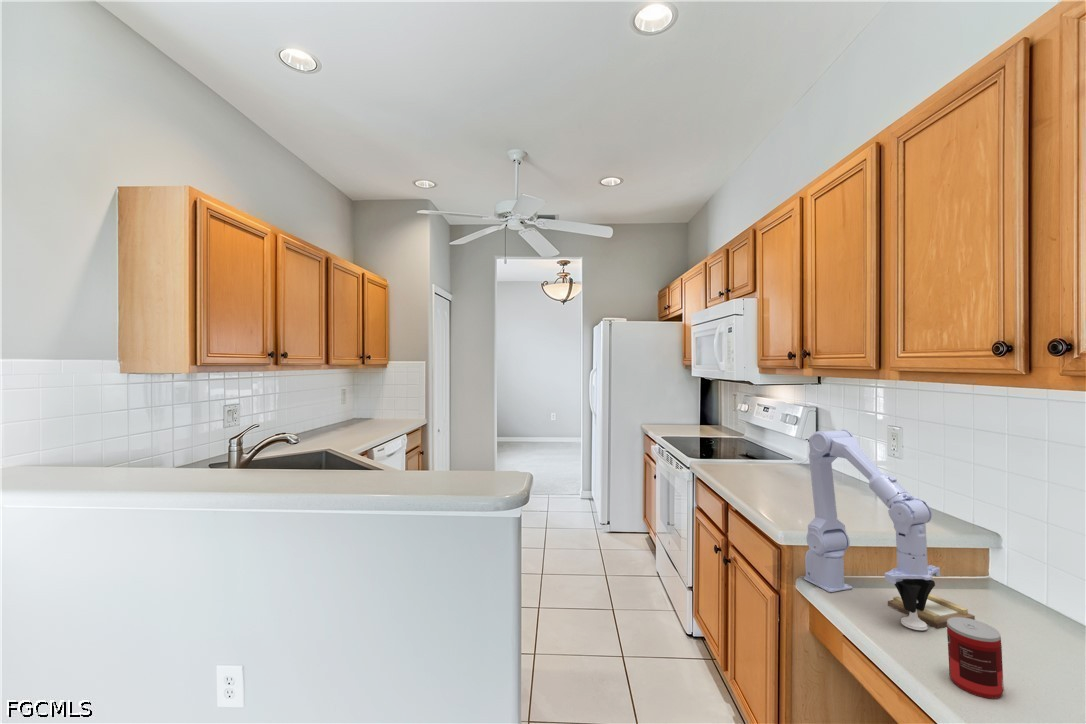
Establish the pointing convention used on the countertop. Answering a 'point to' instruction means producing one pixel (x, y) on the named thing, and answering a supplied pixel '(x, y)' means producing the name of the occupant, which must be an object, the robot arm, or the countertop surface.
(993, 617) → the countertop surface
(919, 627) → the chess piece
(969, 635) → the canned food
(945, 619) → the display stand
